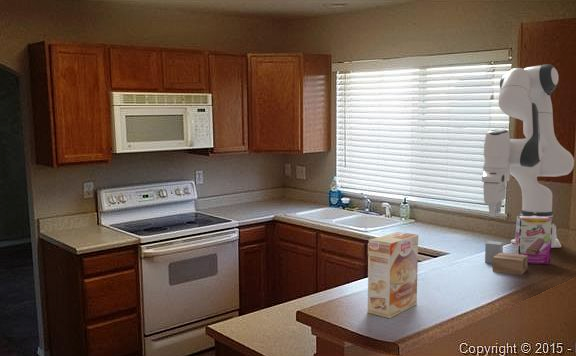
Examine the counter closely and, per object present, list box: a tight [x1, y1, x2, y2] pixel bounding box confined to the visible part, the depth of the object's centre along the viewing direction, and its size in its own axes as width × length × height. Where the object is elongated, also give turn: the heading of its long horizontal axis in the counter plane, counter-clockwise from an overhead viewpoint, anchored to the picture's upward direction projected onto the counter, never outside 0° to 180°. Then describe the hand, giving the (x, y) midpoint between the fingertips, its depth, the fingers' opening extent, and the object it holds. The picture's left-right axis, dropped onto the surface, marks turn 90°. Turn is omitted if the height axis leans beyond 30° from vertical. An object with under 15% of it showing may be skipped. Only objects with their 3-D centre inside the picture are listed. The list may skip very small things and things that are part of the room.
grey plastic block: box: [484, 240, 504, 265], centre depth 201 cm, size 5×5×7 cm
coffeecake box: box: [367, 231, 419, 319], centre depth 149 cm, size 15×7×20 cm, turn 139°
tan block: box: [492, 252, 529, 276], centre depth 190 cm, size 9×9×5 cm
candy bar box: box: [514, 215, 554, 265], centre depth 199 cm, size 11×5×16 cm, turn 84°
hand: (495, 214), depth 199 cm, fingers open, 8 cm apart
